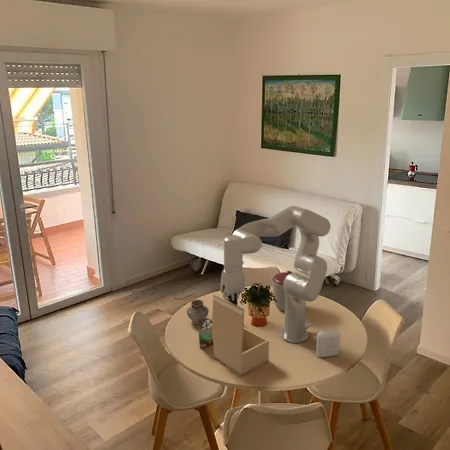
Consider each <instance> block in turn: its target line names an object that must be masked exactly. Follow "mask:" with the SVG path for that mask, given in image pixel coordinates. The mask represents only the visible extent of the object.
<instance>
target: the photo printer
mask: <svg viewBox="0 0 450 450" xmlns="http://www.w3.org/2000/svg"><path fill="white" fill-rule="evenodd" d="M340 341H341V333H340V331H339V330H338V329H335V328H327V329H322V330H320V331H318V332H317V335H316V348H315V353H316V354H315V355H316V356H317V357H318V358H327V357H335V356H339V354H340Z"/></svg>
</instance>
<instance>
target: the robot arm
mask: <svg viewBox="0 0 450 450" xmlns="http://www.w3.org/2000/svg"><path fill="white" fill-rule="evenodd" d="M294 227H295V228H296V227H297V229H298V230H299V233H300V242H299V246H298V249H297V252H296V256H295V258H294V262H293V267H294V269H295V270H297V271H298V272H301V273H302V274H300V275H299V273H297V274H296V272H293V273H291V274H288V275H287V276H286V277H285V279H284V291H285V311H284V329H283V330H282V331H281V333H280V335H281V338H282V339H283V340H284V341H286V342H288V343H293V344H299V343H304V342H305V341H307V340H308V337H309V334H308V332H307V330H308V329H309V328H311V326H312V325H311V324H310V323H306V315H307V314H306V313H307V310H306V309H307V302H314V301H315V300H316V299H317V298H318V296H319V295H320V292H321V289H322V287H323V284H324V281H325V278H326V275H327V272H328V263H327V261H326V259H324V258H322V257H321V256H318V255H317V254H318V251H319V247H320V237H323V238H324V237H325V236H328V234H329V233H330V232H331V228H332V227H331V223H330V220H329V219H328V218H326V217H324V216H323V215H320V214H319V213H316V212H314V211H312V210H309V209H307V208H303V207H300V206H296V205H291V206H288V207H286V208H284V209H282V210H281V211H278V212H276V214H274V215H272V216H270V217H268V218H263V219H260V220H254V221H251V222H248V223H245V224H243V225H242V226H240V227H239V228H237V229H235V230H234V231H233V232H232V235H229V236H227V237H225V238H224V240H223V269H222V271H221V278H220V288H219V289H220V293H221V294H222V298H223V299H226V298H227V299H229V302H231V303H233V304H235V305H237V306H238V300H239V299H240V294H241V293H243V292H244V290H245V287H246V279H245V278H246V277H245V276H246V275H245V270H244V268H243V264H244V262H245V261H243V257H244V256H243V255H247V254H256V253H258V252H259V251H260V250H261V248H262V246H263V241H262V239H261V237H264V238H265V237H266V238H267V237H269V238H270V237H271V238H273V237H279V236H280V235H282V234H284V233H286V232H287V231H289V230H291V229H293V228H294ZM303 274H305V275H307V277H306V276H303Z"/></svg>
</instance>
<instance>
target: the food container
mask: <svg viewBox="0 0 450 450" xmlns="http://www.w3.org/2000/svg"><path fill="white" fill-rule="evenodd" d="M198 343H199V348H200V349H204V348H208V347H209V348H210V346H212V345H213V338H212V319H211V318H209V317H206V318H205V319H204V321H203V323H201V326H200V327H199V329H198Z"/></svg>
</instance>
